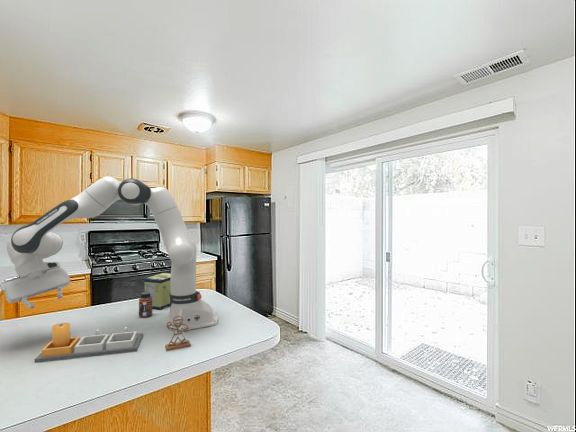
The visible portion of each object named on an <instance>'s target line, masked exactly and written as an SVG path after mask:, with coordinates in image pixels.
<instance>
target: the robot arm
mask: <svg viewBox="0 0 576 432" xmlns="http://www.w3.org/2000/svg"><path fill="white" fill-rule="evenodd" d="M117 201H122V202H124V203H126V204H128V205H131V206H140V205H146V206H147V207H148V209H149V210H150V212H151V214H152V217H153V218H154V219H153V220H154V221H155V223H156V225H157V228H158V230H159V232H160V235H161V238H162V241H163V244H164V247H165V249H166V252H167V255H168V258H169V260H170V262H171V263H170V264H171V265H170V266H171V268H170V273H171V275H170V287H171V293H170V296H169V304H170V306H169V312H168V318H167V322H166V327H167V326H168V325H170V324H171V323H172V325H174V324H176V323H179V322H180V321H181V322H182V320H180V321H177V322H176V321H174V324H173V319H174V317H176V316H181V317H182V318H181V317H176V318H175V319H177V320H178V319H183V322H182V324H186V325H187V326H188V327H187V326H186V325H180V327H177V328H179V330H178V331H180V332H181V328H184V329H185V328H189V331H190V330H196V329H200V328H206V327H213V326H215V325H217V323H218V321H219V318H218V316H217V314H216V313H214V311H213V308H212V306H211V305H210V304H209V303H208V302H207V301H205V300H203V299H202V294H201V291H199V290H198V291H197V244H196V242H195V241H194V240H193V238H191V237H190V234H189V231H188V228H187V226H186V223H185V220H184V218H183V216H182V214H181V212H180V209H179V207H178V205H177V203H176V201H175V199H174V197H173V195H172V193H170V191H169V189H167V188H166V187H163V186H157V187H153V188H150V187H149V185H147V184H146V183H145V182H144V181H143V180H140V179H136V178H134V177H133V178H132V177H131V178H126V179H124V180H122V181H119V180H118V179H117V178H116V177H115V178H114V177H112V176H108V175H107V176H103V177H101V178H100V179H98V180H96V181H95V182H93V183H92V184H91V185H88V186H87V188H85V189H84V190H83V191H82V192H80V193H79V194H77V195H76V196H73V197H72V198H70V199H67V200H64V201H63V202H60V203H59V204H57V205H56V206H54V207H52V208H51V209H50V210H48V211H47V212H45V213H44V214H43V215H41V216H39V217H38V218H37V219H35V220H34V221H32V222H30V223H28V224H26V225H24V226H20V227H19V228H17V229H16V230H15V231H14V232H13V234H12V236H11V238H10V239H8V241H7V243H6V251H7V254H8V258H9V260H10V261H11V262H12V264H13V265H14V268H15V272H16V275H17V276H15V277H14V276H13V277H12V278H6V279H4V280H3V281H1V282H0V289H1V290H2V291H3V292H4V295H5V299H6V302H7V303H9V304H13V303H17V302H21V304H23V305H25V306H27V308H28V309H29V310H31V309H33V308H34V307H35V304H34V301H32V302H30V301H28V299H29V298H33V297H35V296H38V295H42V294H46V293H49V292H52V291H55V290H57V292H58V293H57V294H56V295H55V296H56V298H57V300H60V299H63V297H64V294H63V289H64V287H67V286H69V285H70V283H71V277H70V276H69V274H68V272H67V271H66V270H65V268H63V267H61V263H60V262H58V261H54V262H53V261H51V262H50V261H46V262H45V261H44V259H47V258H50V257H52V256H54V255H56V254H58V253H59V252H61V250H62V248H63V245H64V243H63V242H64V240H63V238H62V237H61V235H59V234H58V233H54V232H52V231H53V230H54V229H56V228H57V227H58V226H60V225H61V224H63V223H64V222H66V221H69V220H74V219H93V218H96V217H98V216H100V215H101V214H102V213H104V212H105V211H106V210H107V209H109V208H110V206H112V205H113V204H114V203H115V202H117ZM175 319H174V320H175ZM168 322H171V323H168ZM175 322H176V323H175ZM181 322H180V323H181ZM167 323H168V325H167ZM180 323H179V324H180ZM179 324H177V326H178V325H179ZM172 325H171V326H169V327H168V328H169V329H173V330H175V329H176V330H177V328H176V327H175V326H172ZM187 330H188V329H187ZM187 330H186V331H187ZM182 332H184V330H183V329H182Z"/></svg>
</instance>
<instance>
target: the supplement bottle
mask: <svg viewBox="0 0 576 432" xmlns="http://www.w3.org/2000/svg"><path fill="white" fill-rule="evenodd" d="M138 316H139V317H140V318H149V317H151V316H153V309H152V297H151V296H150V292H145V291H143V292H141V293H140V297H139V298H138Z"/></svg>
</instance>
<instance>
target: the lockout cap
mask: <svg viewBox="0 0 576 432" xmlns="http://www.w3.org/2000/svg"><path fill="white" fill-rule="evenodd" d="M70 334H71V326H70V323H69V322H60V323H57V324H54V325H53V326H52V327H51V339H52V344H53V348H58V347H68V346H70Z"/></svg>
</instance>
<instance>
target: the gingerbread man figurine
mask: <svg viewBox="0 0 576 432" xmlns="http://www.w3.org/2000/svg"><path fill="white" fill-rule="evenodd" d="M176 317H181V316H176ZM176 317H174V319H175V318H176ZM181 318H182V317H181ZM174 319H173V324H174V321H176V322H177V321H180V320H182V322H183V319H178V320H177V319H175V320H174ZM167 322H168V321H167ZM167 322H166V328H167V329H168V330H169V331H172V332H173V335H172V337H171V340H170V341H169V343H168V344H167V343H166V344H165V346H164V348H165V352H170V351H175V350H180V349H184V348H185V347H186V348H189V347H191V341H190V340H187V339H186V338H185V336H184V335H183V332H184V333H188V332H189V331H190V330H189V328H185V329H184V328H181V331H180V330H179V328H177V327H180V325H186V324H182V322H181V321H180V322H181V323H180V322H179V323H180V324H179V323H176V322H175V323H176V324H174V325H172V323H171V322H168V323H171V324H170V325H168V323H167ZM177 324H179V325H178V326H177ZM167 325H168V326H167ZM171 325H172V326H175V327H176V328H177V329H176V330H177V331H176V330H175V329H173V328H170V327H169V326H171ZM186 326H187V325H186ZM187 327H188V326H187ZM182 329H183V330H184V331H182ZM187 329H188V330H187ZM175 331H176V333H175ZM179 331H180V332H179ZM179 335H181V336H182V337H183V339H180V338H179ZM175 336H177V337H176V339H175V341H173V339H174V338H175ZM178 340H179V341H178ZM177 341H178V342H177Z"/></svg>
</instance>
